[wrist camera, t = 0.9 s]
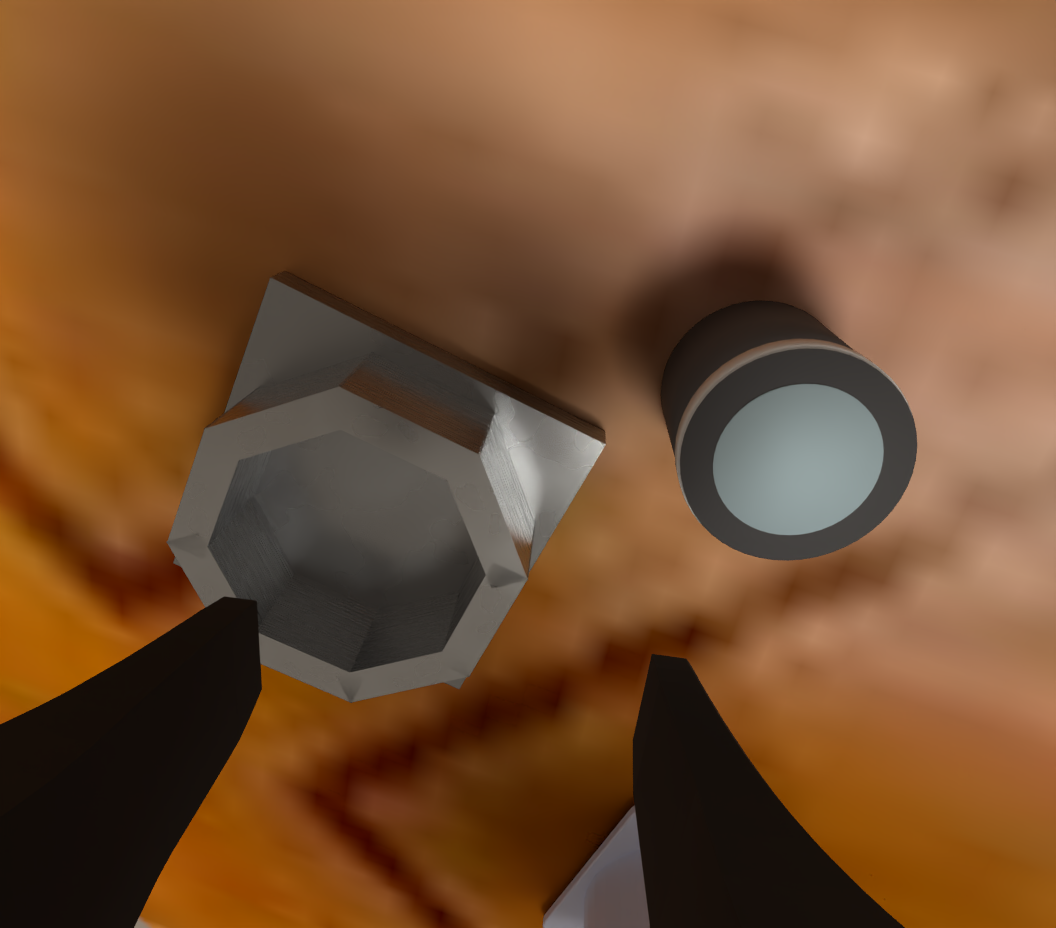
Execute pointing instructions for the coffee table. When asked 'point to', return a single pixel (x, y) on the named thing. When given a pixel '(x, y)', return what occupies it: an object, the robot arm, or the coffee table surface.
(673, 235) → the coffee table surface
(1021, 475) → the coffee table surface
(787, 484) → the lens
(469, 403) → the mount
